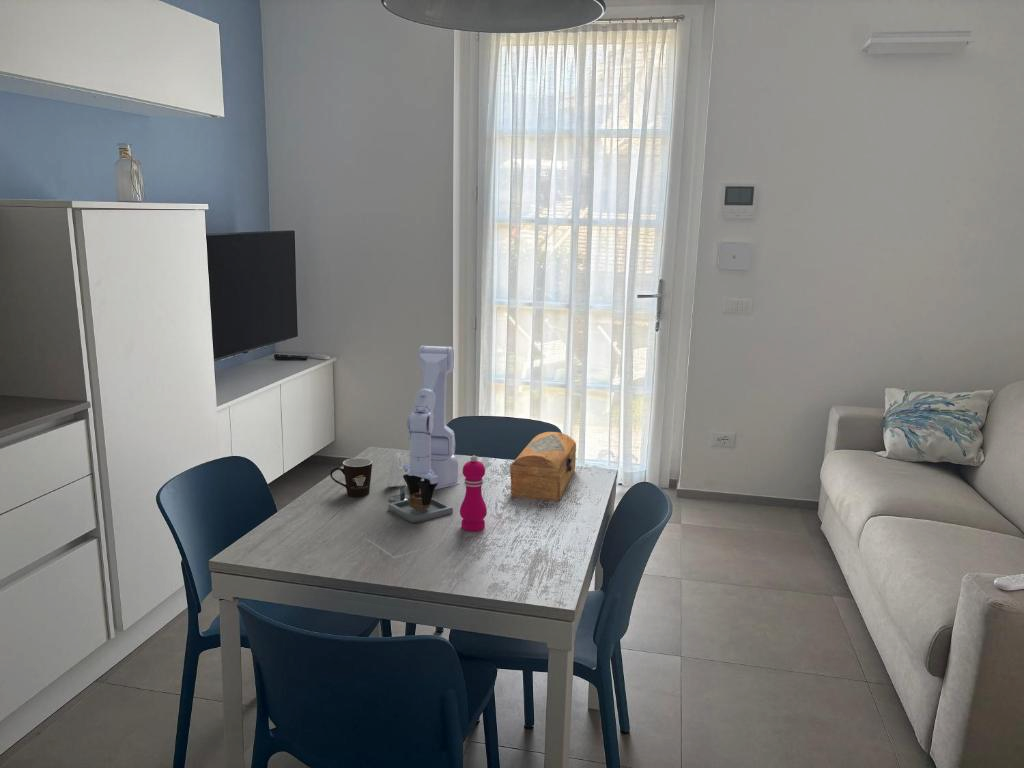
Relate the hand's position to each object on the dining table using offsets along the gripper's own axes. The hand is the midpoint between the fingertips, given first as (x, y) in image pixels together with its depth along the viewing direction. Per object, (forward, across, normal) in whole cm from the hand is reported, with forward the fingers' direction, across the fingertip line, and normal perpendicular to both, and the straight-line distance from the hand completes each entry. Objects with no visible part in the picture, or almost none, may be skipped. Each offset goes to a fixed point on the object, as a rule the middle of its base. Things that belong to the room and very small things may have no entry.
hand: (420, 501), depth 221 cm
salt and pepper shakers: (+3, -21, +8) cm, 22 cm away
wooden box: (+3, +3, +45) cm, 45 cm away
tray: (+3, 0, 0) cm, 3 cm away
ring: (+1, 0, 0) cm, 1 cm away
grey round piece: (+3, -11, +1) cm, 11 cm away
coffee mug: (+3, -24, -8) cm, 25 cm away
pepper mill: (+3, +18, +5) cm, 19 cm away
